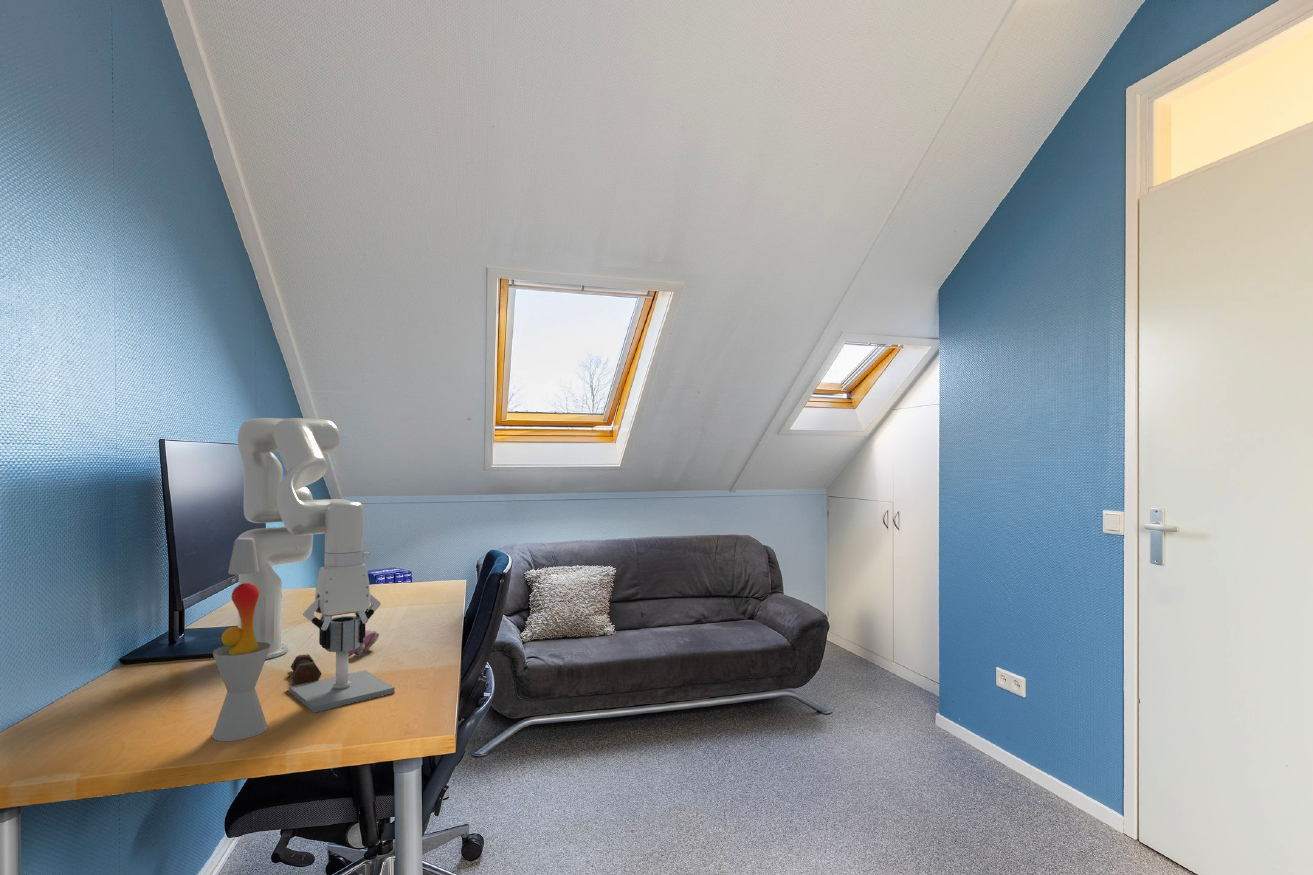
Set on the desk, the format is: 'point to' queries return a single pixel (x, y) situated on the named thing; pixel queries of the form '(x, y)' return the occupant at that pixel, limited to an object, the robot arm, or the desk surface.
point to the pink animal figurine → (365, 643)
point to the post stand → (340, 687)
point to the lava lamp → (241, 656)
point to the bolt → (304, 670)
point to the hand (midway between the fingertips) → (342, 643)
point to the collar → (344, 633)
